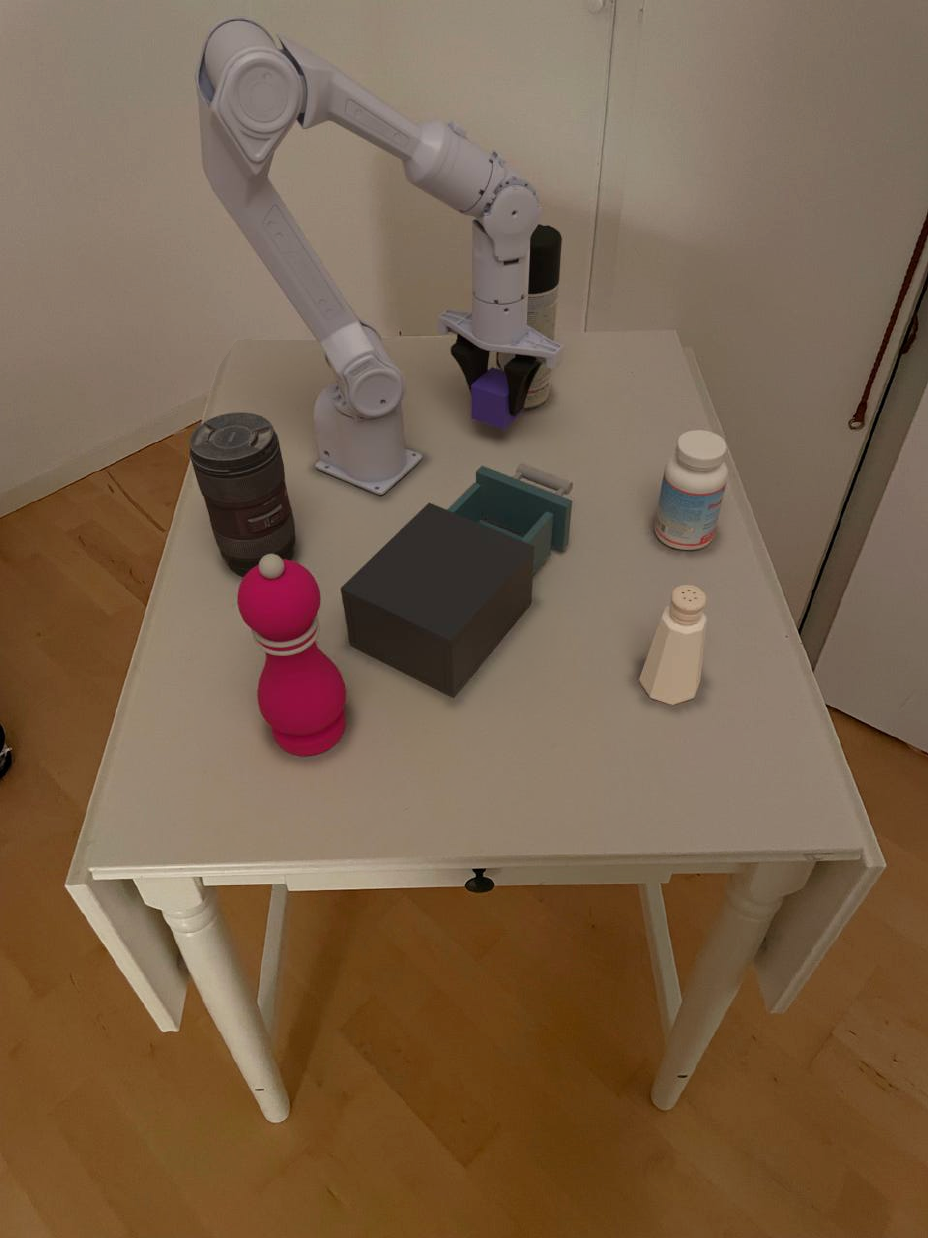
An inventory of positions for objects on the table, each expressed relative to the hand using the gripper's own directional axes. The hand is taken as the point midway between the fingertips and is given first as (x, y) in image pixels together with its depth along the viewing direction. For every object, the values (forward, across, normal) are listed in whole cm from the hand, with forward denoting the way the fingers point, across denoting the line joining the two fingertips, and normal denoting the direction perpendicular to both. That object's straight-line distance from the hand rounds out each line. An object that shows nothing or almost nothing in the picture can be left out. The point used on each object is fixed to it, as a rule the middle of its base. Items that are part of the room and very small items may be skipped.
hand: (498, 404), depth 103 cm
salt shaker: (+5, -32, +23) cm, 40 cm away
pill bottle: (+5, -25, +4) cm, 26 cm away
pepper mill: (+5, -8, +44) cm, 45 cm away
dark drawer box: (+5, -11, +28) cm, 30 cm away
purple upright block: (+1, 0, 0) cm, 1 cm away
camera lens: (+5, +10, +30) cm, 32 cm away
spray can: (+5, +2, -9) cm, 10 cm away
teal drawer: (+4, -11, +17) cm, 20 cm away
